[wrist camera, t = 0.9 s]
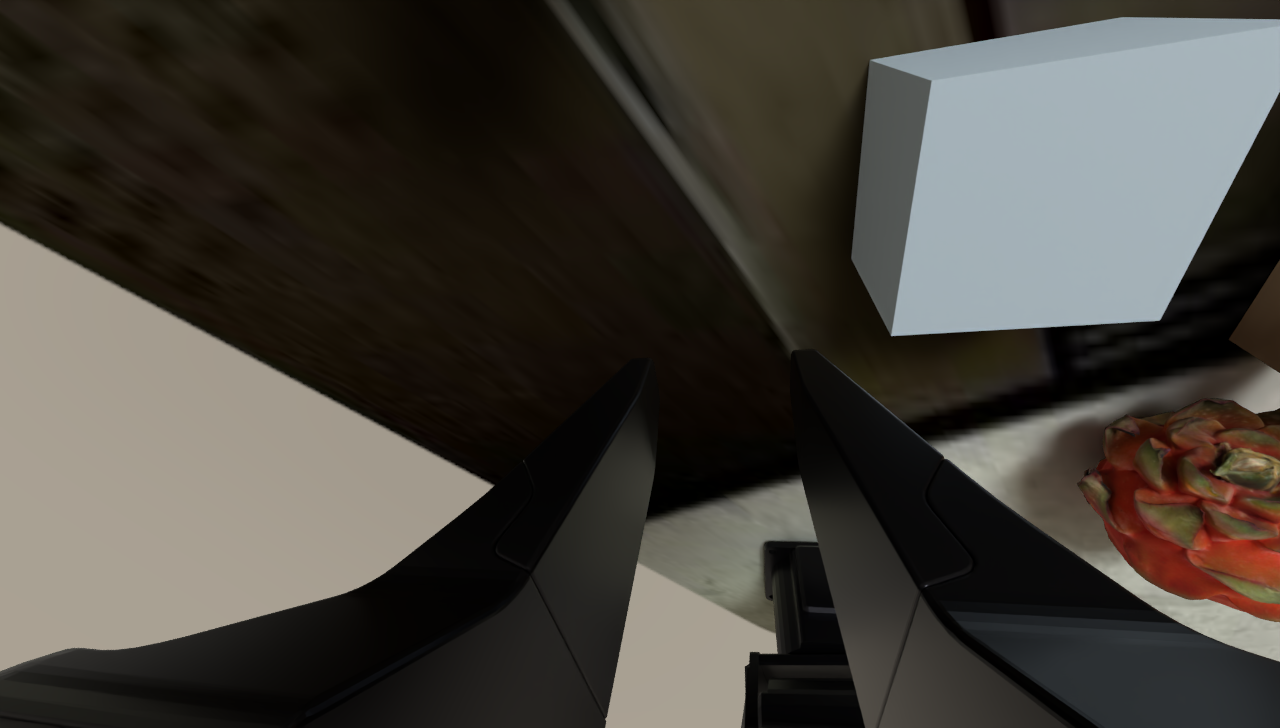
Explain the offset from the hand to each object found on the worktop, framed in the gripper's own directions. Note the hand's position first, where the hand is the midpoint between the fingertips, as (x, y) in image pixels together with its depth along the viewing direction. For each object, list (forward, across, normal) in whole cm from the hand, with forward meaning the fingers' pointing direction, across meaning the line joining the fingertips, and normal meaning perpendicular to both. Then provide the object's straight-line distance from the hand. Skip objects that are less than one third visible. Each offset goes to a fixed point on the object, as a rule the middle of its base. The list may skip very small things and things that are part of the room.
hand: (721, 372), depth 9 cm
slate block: (+12, -8, 0) cm, 15 cm away
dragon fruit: (+12, -20, +15) cm, 28 cm away
